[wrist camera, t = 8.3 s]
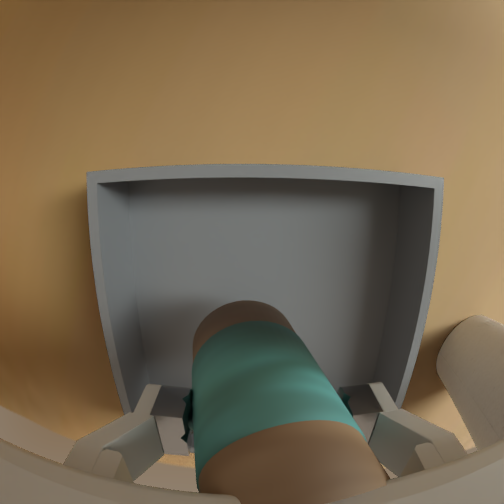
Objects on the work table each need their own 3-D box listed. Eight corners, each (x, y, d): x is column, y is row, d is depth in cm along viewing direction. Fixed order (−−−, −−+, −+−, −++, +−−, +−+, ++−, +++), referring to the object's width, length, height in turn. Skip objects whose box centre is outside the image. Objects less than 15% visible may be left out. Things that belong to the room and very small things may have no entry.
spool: (297, 295, 13) (429, 454, 4) (291, 381, 14) (371, 539, 5) (186, 302, 12) (187, 511, 4) (196, 390, 13) (214, 573, 5)
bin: (404, 176, 15) (443, 177, 11) (369, 403, 19) (387, 442, 15) (123, 171, 15) (86, 172, 11) (150, 404, 19) (134, 444, 15)
